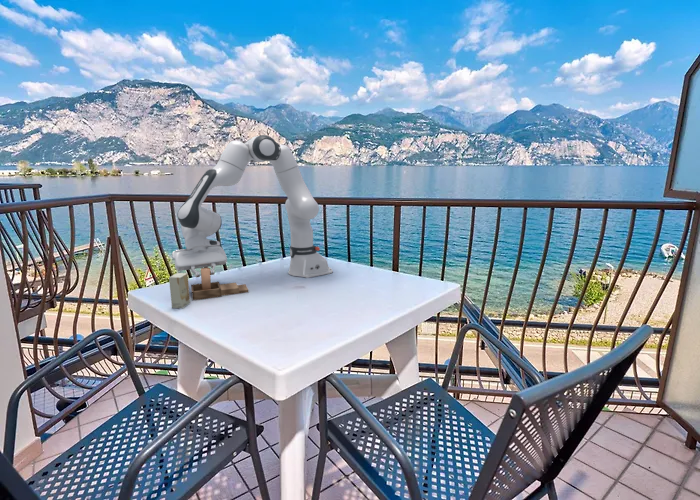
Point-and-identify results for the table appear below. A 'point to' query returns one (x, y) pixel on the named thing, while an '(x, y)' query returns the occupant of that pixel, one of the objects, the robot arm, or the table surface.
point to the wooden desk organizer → (217, 290)
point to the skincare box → (179, 290)
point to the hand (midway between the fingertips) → (205, 275)
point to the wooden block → (205, 278)
